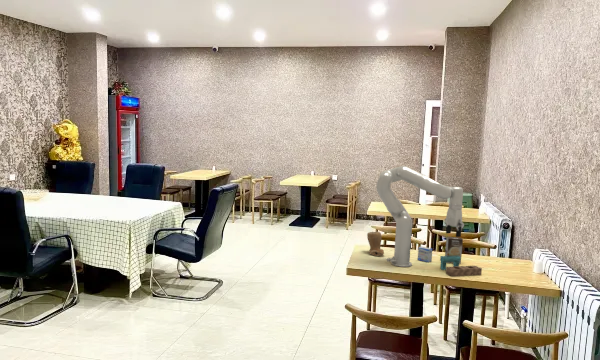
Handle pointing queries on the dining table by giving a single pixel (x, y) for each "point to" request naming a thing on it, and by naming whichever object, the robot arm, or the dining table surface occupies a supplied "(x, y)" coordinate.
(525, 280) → the dining table surface
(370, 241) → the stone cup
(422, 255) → the medicine box
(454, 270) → the brown wooden candle holder
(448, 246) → the coffee box
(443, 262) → the clip
